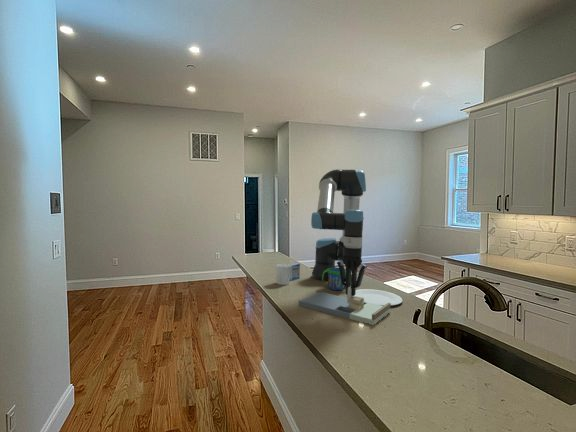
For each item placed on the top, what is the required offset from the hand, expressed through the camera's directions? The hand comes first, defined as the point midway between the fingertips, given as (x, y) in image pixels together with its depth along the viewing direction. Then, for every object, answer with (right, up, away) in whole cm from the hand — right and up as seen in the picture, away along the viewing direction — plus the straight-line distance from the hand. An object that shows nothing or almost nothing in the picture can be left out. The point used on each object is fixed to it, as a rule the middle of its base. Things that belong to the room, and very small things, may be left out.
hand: (350, 302), depth 134 cm
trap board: (-2, -3, +2) cm, 5 cm away
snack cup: (-1, -2, +33) cm, 33 cm away
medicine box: (-23, 0, +51) cm, 56 cm away
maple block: (+2, -2, -2) cm, 3 cm away
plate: (+15, -4, +17) cm, 23 cm away
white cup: (-29, -1, +40) cm, 50 cm away
